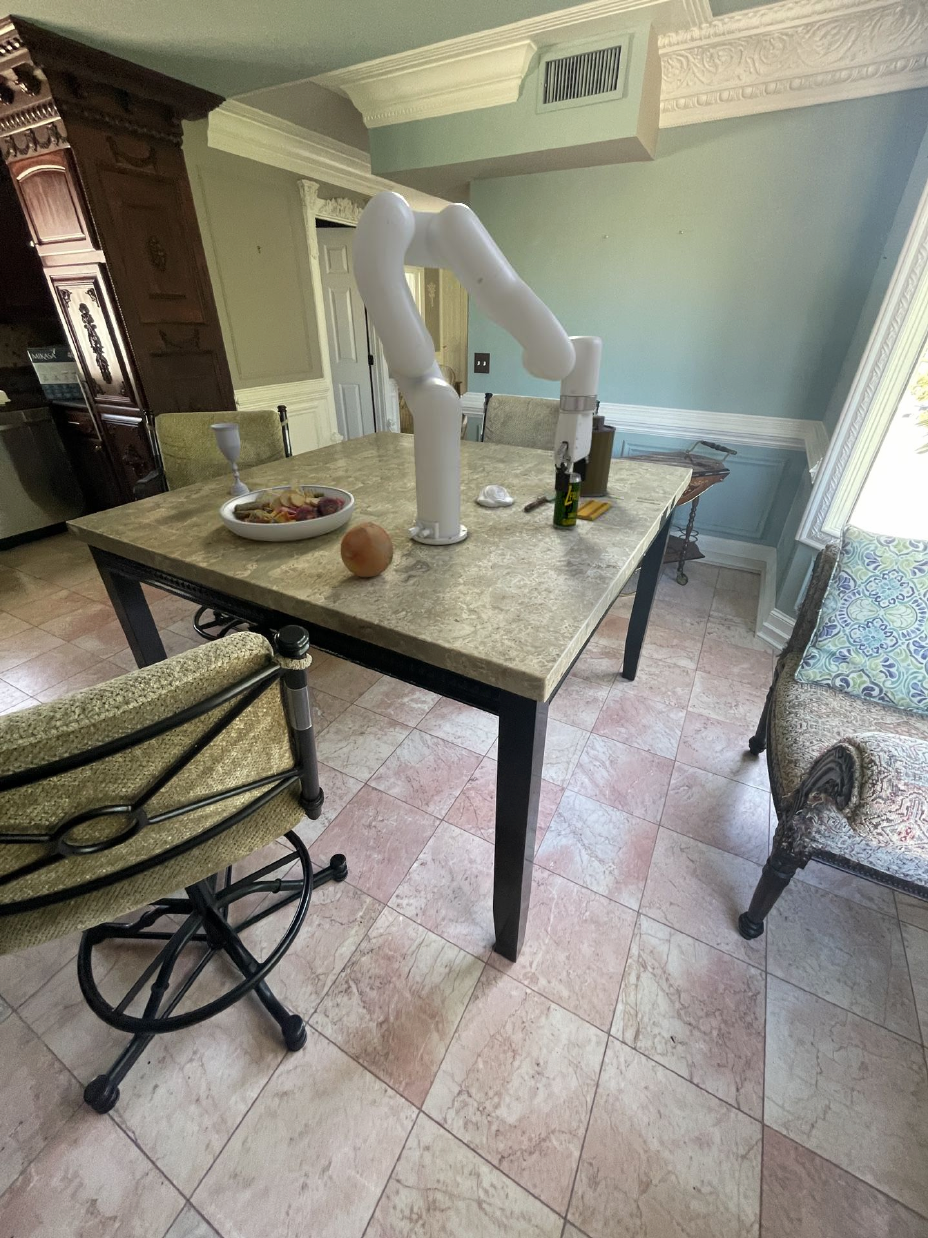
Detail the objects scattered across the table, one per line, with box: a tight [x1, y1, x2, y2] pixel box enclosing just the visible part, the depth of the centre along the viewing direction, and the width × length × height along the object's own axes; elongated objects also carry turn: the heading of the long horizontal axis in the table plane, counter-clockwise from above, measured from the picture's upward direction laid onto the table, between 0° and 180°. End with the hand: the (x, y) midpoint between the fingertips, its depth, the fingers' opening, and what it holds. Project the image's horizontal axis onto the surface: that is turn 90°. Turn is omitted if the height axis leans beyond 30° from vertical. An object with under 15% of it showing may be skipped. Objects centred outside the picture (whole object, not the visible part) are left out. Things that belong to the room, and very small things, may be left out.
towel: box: [577, 499, 612, 521], centre depth 127 cm, size 13×6×1 cm, turn 146°
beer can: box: [552, 471, 581, 531], centre depth 115 cm, size 5×5×12 cm
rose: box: [476, 484, 514, 508], centre depth 133 cm, size 10×4×10 cm
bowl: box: [219, 484, 356, 542], centre depth 118 cm, size 30×30×8 cm
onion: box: [340, 521, 394, 579], centre depth 92 cm, size 10×10×10 cm
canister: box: [571, 415, 617, 498], centre depth 137 cm, size 11×10×20 cm
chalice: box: [210, 422, 251, 496], centre depth 137 cm, size 7×7×18 cm
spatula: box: [523, 491, 556, 512], centre depth 132 cm, size 17×4×1 cm, turn 146°
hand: (570, 485), depth 113 cm, fingers open, 9 cm apart
